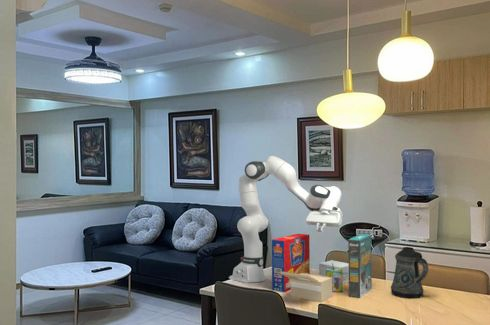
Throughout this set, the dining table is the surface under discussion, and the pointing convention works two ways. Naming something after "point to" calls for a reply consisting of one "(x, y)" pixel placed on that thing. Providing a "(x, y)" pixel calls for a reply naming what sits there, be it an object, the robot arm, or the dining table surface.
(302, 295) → the carton
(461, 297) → the dining table surface
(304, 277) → the flap
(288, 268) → the pasta box
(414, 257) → the beer stein
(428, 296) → the dining table surface
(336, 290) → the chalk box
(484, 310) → the dining table surface
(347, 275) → the supplement box
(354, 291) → the cake mix box
